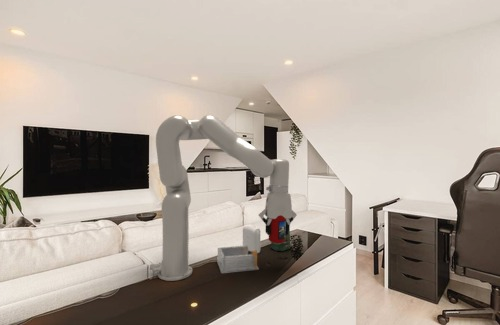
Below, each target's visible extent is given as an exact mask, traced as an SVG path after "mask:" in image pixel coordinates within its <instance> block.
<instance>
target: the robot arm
mask: <svg viewBox="0 0 500 325" xmlns="http://www.w3.org/2000/svg"><path fill="white" fill-rule="evenodd" d="M194 140H195V141H196V140H198V141H199V140H200V141H201V140H209V141H210V142H212V143H213V144H214V145H215V146H217V148H219V149H221V151H223V152H224V153H225V154H226V155H228V156H230V157H232V158H233V159H235V160H237V161H239V162H240V163H241V164H243V165H244V166H246V167H247V168H248V169H249V170H250V171H251V173H252V174H253V175H254V176H256V177H260V178H261V179H262V178H269V185H268V186H266V191H268V193H267V196H266V199H265V206H264V209H263V210H261V212H260V213H258V217H259V219H261V220H262V222H264V224H265V234H267V236H269V235H271V225H270V223H271V221H272V219H276V218H277V217H278V216H280V215H282V216H283V217H285V219H286V235H288V232H289V225H290V226H291V224H292V222H293V221H294V219H295V218H296V217H297V213H296V212H295V211H294V210H293V209H292V206H293V204H292V198H291V196H292V195H291V193H289V184H290V183H289V178H290V176H289V175H290V161H289V160H287V159H278V158H276V159H275V158H274V159H270V158H268V156H266V155H265V154H264V153H262V152H261V151H260V150H259V149H257V148H256V147H255V146H253V145H252V144H250V143H249V141H247V140H246V139H244V138H243V137H241V136H240V135H239V134H237V133H236V132H235V131H234V130H233V129H231V128H230V126H227V125H226V124H225V123H224V122H223V121H222V120H220V119H219V117H217V116H215V115H213V114H207V115H204V116H203V117H202V118H200V119H187V118H186V117H185V116H182V115H178V114H177V115H171V116H169V117H168V118H165V120H163V122H161V124H160V125H159V127H158V128H157V131H156V135H155V147H156V149H155V150H156V155H157V158H156V159H157V163H158V164H157V165H158V173H159V174H158V175H159V180H160V183H162V185H163V186H164V187H165V192H166V195H165V196H164V197H163V200H162V203H161V219H162V220H161V221H162V259H161V262H159V263H154V264H153V263H152V264H151V263H150V264H149V270H150V271H151V270H152V272H154V273H155V272H157V277H158V278H159V279H161V280H163V281H166V282H173V281H180V280H184V279H187V278H189V277H190V276H191V275H192V274H193V268H192V266H190V265H189V242H190V241H189V240H190V239H189V236H190V235H189V228H190V227H189V207H190V205H191V201H192V199H191V189H190V184H189V176H188V171H187V169H186V168H185V166H184V165H183V162H182V156H181V154H182V153H181V148H180V141H194ZM265 217H266V218H265Z"/></svg>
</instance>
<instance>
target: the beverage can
mask: <svg viewBox="0 0 500 325" xmlns="http://www.w3.org/2000/svg"><path fill="white" fill-rule="evenodd" d="M270 225H271V235H268V241H269V242H270V243H271V242H272V243H275V244H281V243H283V242H285V237H286V219H285V217H283V216H282V215H280V216H278V217H277V218H276V219H272V221H271V223H270Z"/></svg>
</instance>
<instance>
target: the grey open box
mask: <svg viewBox="0 0 500 325" xmlns="http://www.w3.org/2000/svg"><path fill="white" fill-rule="evenodd" d="M216 262H217V263H216V264H217V265H218V268H219V271H220V274H229V273H240V272H249V271H258V270H259V269H260V268H259V266H258V253H257V250H252V252H251V253H249V251H248V246H243V245H238V246H237V245H236V246H234V245H233V246H224V247H217V258H216Z"/></svg>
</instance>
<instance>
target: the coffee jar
mask: <svg viewBox="0 0 500 325" xmlns="http://www.w3.org/2000/svg"><path fill="white" fill-rule="evenodd" d="M290 228H291V224H290V225H289V232H288V235H286V237H285V242H283V243H281V244H275V243H272V242H271V241H270V248H271V249H272V250H274V251H276V252H284V251H286V250H289V249H290V248H291V233H290V232H291V229H290Z"/></svg>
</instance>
